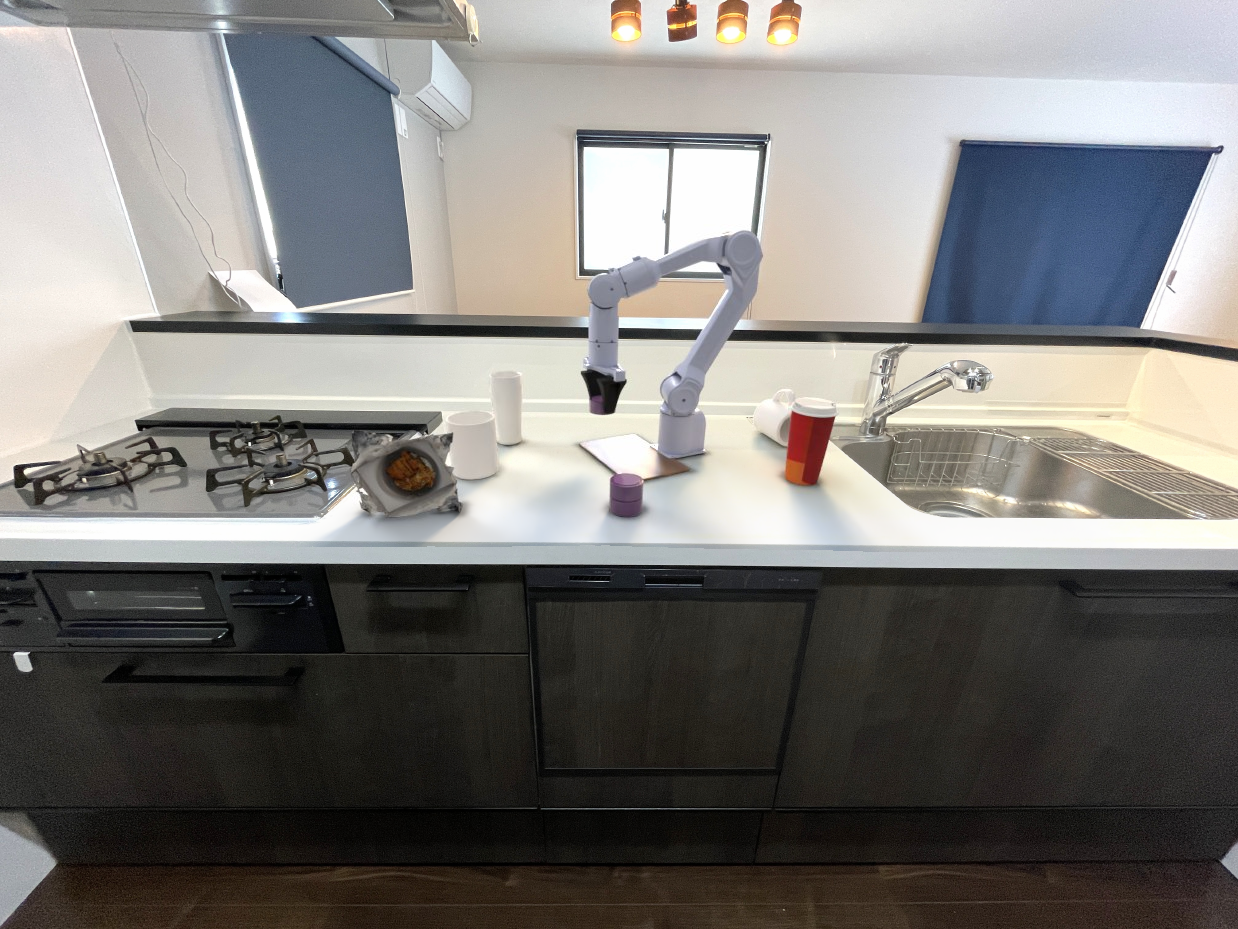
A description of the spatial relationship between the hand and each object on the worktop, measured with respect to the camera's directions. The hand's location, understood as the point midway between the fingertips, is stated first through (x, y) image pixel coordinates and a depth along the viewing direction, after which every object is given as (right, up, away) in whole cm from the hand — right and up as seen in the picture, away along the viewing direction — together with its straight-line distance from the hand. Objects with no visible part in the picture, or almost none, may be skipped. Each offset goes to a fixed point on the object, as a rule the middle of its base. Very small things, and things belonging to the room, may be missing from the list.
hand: (602, 408), depth 100 cm
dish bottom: (+4, -19, -19) cm, 27 cm away
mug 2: (+40, -6, +14) cm, 43 cm away
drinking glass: (-21, -7, +8) cm, 23 cm away
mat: (+6, -10, +2) cm, 12 cm away
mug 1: (-24, -12, -5) cm, 28 cm away
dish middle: (+5, -16, -20) cm, 26 cm away
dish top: (0, -1, 0) cm, 1 cm away
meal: (-30, -19, -21) cm, 41 cm away
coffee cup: (+38, -14, -6) cm, 41 cm away
